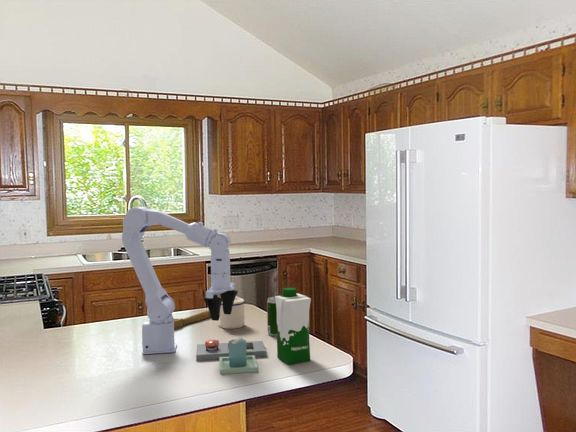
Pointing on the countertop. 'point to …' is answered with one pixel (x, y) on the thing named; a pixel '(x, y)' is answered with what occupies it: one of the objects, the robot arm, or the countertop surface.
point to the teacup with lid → (233, 315)
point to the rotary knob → (237, 353)
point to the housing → (224, 352)
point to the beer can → (272, 316)
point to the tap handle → (191, 319)
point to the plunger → (211, 345)
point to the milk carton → (292, 326)
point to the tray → (249, 367)
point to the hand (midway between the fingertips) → (221, 317)
